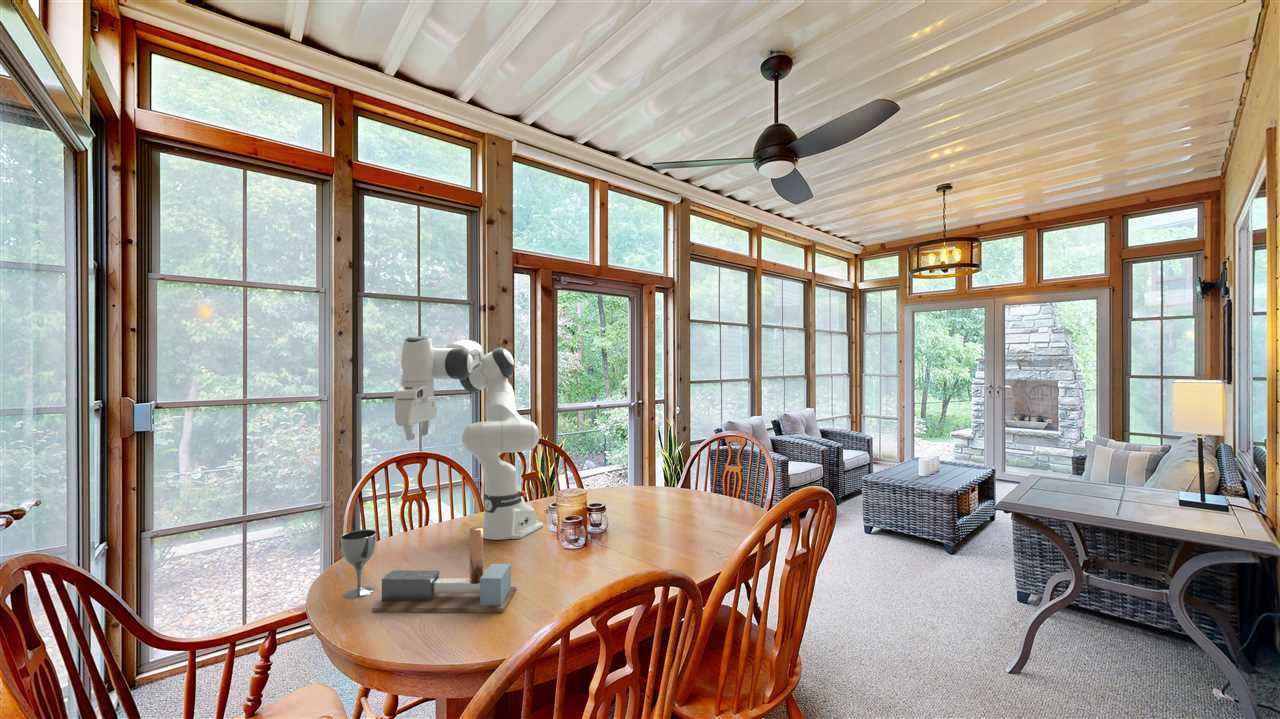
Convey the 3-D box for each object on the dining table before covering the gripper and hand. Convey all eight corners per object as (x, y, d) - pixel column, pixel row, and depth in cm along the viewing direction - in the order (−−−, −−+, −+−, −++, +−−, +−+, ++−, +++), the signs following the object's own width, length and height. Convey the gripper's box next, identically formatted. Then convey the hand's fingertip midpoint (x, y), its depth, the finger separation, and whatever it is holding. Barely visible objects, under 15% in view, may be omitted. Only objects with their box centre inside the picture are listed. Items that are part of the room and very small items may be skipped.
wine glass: (334, 599, 132) (334, 539, 132) (352, 585, 140) (352, 529, 140) (366, 599, 132) (366, 539, 132) (381, 585, 140) (381, 529, 140)
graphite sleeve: (381, 601, 129) (381, 579, 129) (392, 591, 134) (392, 570, 134) (430, 601, 128) (430, 579, 128) (439, 591, 134) (439, 570, 134)
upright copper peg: (419, 593, 130) (419, 530, 130) (425, 588, 133) (425, 526, 133) (492, 594, 129) (492, 530, 129) (496, 588, 133) (496, 526, 133)
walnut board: (372, 611, 125) (372, 607, 125) (396, 589, 137) (396, 586, 137) (503, 612, 125) (503, 608, 125) (516, 590, 137) (516, 586, 137)
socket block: (480, 605, 126) (480, 578, 126) (491, 589, 135) (491, 563, 135) (500, 605, 126) (500, 578, 126) (510, 589, 135) (510, 563, 135)
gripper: (422, 389, 166) (422, 432, 166) (390, 393, 145) (390, 443, 145) (441, 389, 166) (441, 432, 166) (413, 393, 145) (412, 443, 145)
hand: (417, 437), depth 155 cm, fingers open, 8 cm apart
